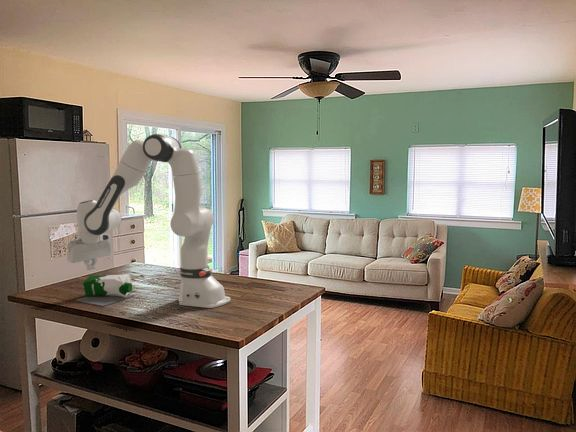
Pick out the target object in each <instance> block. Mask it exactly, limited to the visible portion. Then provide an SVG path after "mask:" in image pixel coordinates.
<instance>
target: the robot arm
mask: <svg viewBox="0 0 576 432" xmlns="http://www.w3.org/2000/svg"><path fill="white" fill-rule="evenodd" d="M153 161H155V162H162V163H168V164H169V165H170V169H171V172H172V173H171V174H172V179H173V181H172V182H173V187H174V195H175V198H174V199H175V200H174V210H173V214H172V217H171V219H170V223H169V224H170V229H171V230H172V232H173V233H174V234H175V235H176V236H178V237H184V239H183V243H182V245H181V247H180V268H179V275H180V277H181V278H180V280H181V281H180V289H179V295H178V305H179V306H187V307H197V308H199V307H200V308H205V309H206V308H207V309H212V308H217V307H220V306H224V305H225V304H228V303H229V302H231V297H230V296H228V295H226V294H225V293H226V292H225V288H224V286H223V284H221V283H220V282H219V281H218V280H217V279H216V278H215V277H214V276H213V275H212V273H213V272H214V269H213V268H211V269H210V267H209V265H208V264H209V263H208V259H209V258H208V250H209V248H208V245H209V240H210V236H211V235H210V234H211V229H212V226H213V225H214V221H215V217H214V214H213V213H214V212H212V211H211V209H209V208H206V207H203V206H200V203H201V197H202V194H203V189H202V180H201V175H200V169H199V168H200V167H199V163H198V160H197V157H196V155H195V152H194V151H193V150H192V149H189V148H187V147H186V148H184V147H183V148H182V144H181V143H180V141H179V140H178V139H176V138H175V137H173V136H168V135H167V134H159V133H155V134H150V135H148V136H147V137H146V138H144V140H140V139H135V140H133V141H131V143H130V144H129V145H128V146H127V148H126V150H125V151H124V153H123V155H122V157H121V158H120V161H119V162H118V164H117V167H116V168H115V171H114V173H113V175H112V176H111V178H110V180H109V182H108V183H107V184H106V186H105V188H104V190H103V192H102V193H101V195H100V197H99V199H98V200H95V199H91V200H86V201H81V202H79V203H78V204H77V207H76V223H77V225H78V226H77V239H75V240H71V241H70V242H69V243H68V244H67V256H66V257H67V258H66V261H67V262H68V263H71V264H75V263H79V262H83V263H84V264H85V266H86V270H88V271H91V270H94V269H95V268H96V264H97V261H98V259H99V258H102V257H103V258H104V257H107V256H111V254H112V253H113V252H112V243H111V241H110V239H111V235H110V234H107V232H109V231H112V230H114V229H116V228H118V227H119V226H120V225H121V223H122V215H121V213H120V211H119V210H118V209H117V208H114V207H115V205H116V203H117V201H118V200H119V198H120V197H121V196H122V195H123V194H124V193H125V192H127V191H128V190H130V189H132V188H134V187H135V186H137V185H139V183H140V182H141V180H142V179H143V178H144V176H145V174H146V171H147V169H148V168H149V166H150V164H151V163H152V162H153ZM90 262H91V263H90Z"/></svg>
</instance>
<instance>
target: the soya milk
mask: <svg viewBox="0 0 576 432" xmlns="http://www.w3.org/2000/svg"><path fill="white" fill-rule="evenodd" d="M82 285H83V290H84V294H85V297H91V296H119V297H126V296H127V295H130V293H131V292H132V291H133V285H132V281H131V275H130V273H124V274H103V275H101V274H100V275H99V274H97V275H96V274H95V275H93V274H90V275H89V276H88V277H87V278H85V280H84V281H83V282H82Z"/></svg>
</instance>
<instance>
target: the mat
mask: <svg viewBox="0 0 576 432" xmlns="http://www.w3.org/2000/svg"><path fill="white" fill-rule="evenodd" d="M133 297H134V295H131V294H128V295H127V296H126V297H119V296H91V297H86V296H85V297H81V298H77V299H75V302H79V303H84V304H88V305H92V306H98V307H106V306H109V305H112V304H114V303H115V304H116V303H119V302H121V301H124V300H127V299H131V298H133Z"/></svg>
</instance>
